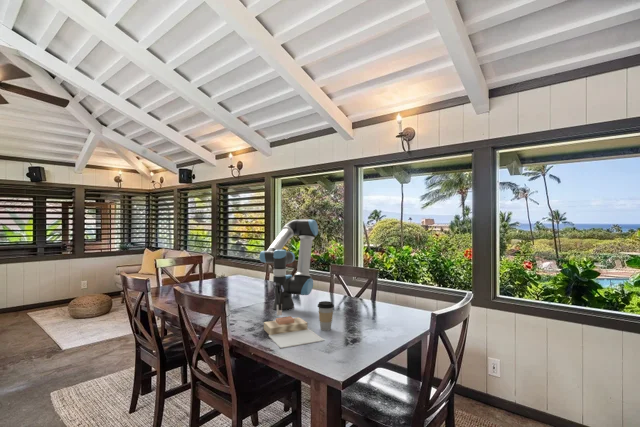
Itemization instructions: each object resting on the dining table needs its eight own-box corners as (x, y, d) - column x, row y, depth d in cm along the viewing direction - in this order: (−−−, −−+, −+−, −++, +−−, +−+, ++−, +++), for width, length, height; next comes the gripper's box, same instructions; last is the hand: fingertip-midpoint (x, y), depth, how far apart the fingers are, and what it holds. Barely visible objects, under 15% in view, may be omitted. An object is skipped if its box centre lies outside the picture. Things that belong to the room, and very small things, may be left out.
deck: (299, 324, 195) (299, 317, 195) (307, 330, 184) (307, 322, 184) (263, 329, 185) (263, 322, 185) (270, 335, 174) (270, 328, 174)
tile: (290, 319, 190) (290, 316, 190) (294, 322, 185) (294, 318, 185) (275, 321, 186) (275, 318, 186) (279, 324, 181) (279, 320, 181)
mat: (309, 329, 184) (309, 328, 184) (324, 340, 168) (324, 339, 168) (268, 336, 174) (268, 335, 174) (280, 348, 157) (280, 347, 157)
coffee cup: (336, 328, 188) (336, 302, 188) (328, 333, 179) (328, 305, 180) (322, 325, 192) (322, 300, 193) (314, 330, 184) (314, 303, 185)
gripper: (270, 274, 199) (269, 313, 198) (277, 277, 188) (276, 318, 187) (281, 273, 203) (281, 311, 202) (289, 276, 191) (288, 317, 190)
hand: (279, 314), depth 194 cm, fingers closed
